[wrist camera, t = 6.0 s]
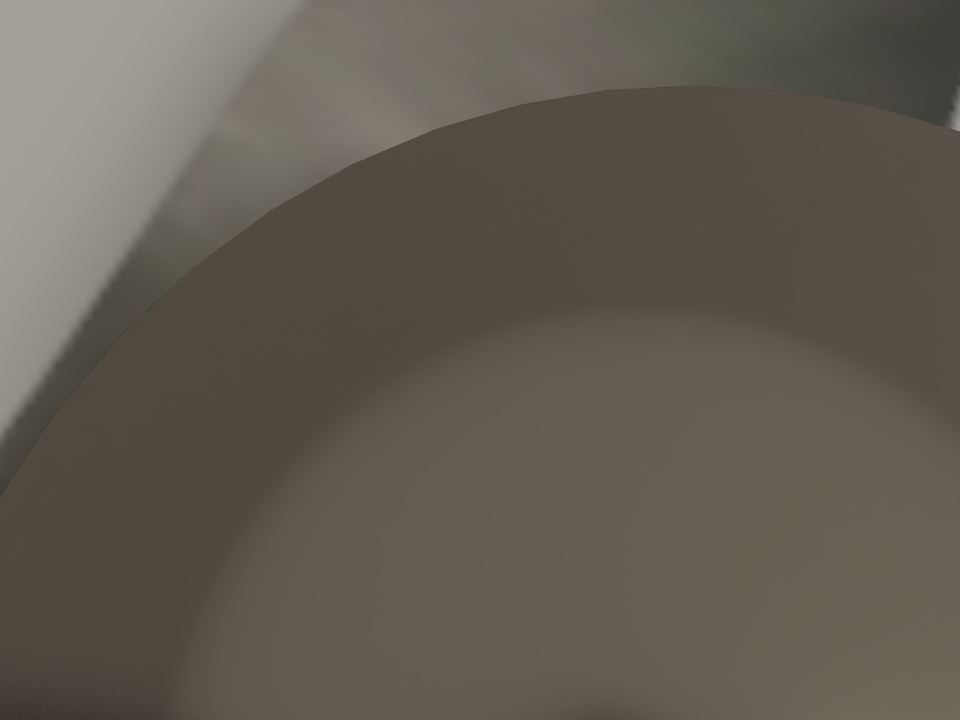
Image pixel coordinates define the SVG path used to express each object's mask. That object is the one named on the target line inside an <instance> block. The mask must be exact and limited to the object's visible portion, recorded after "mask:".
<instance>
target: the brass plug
mask: <svg viewBox="0 0 960 720" xmlns="http://www.w3.org/2000/svg"><path fill="white" fill-rule="evenodd" d="M0 720H960V131H956V130H953V129H949V128H946V127H942V126H939V125H935V124H932V123H928V122H925V121H921V120H918V119H914V118H911V117H907V116H904V115H900V114H897V113H893V112H890V111H886V110H883V109H879V108H876V107H872V106H867V105H861V104H855V103H849V102H843V101H838V100H832V99H826V98H820V97H815V96H809V95H803V94H797V93H791V92H786V91H773V90H757V89H741V88H725V87H708V86H679V87H659V88H640V89H620V90H605V91H599V92H593V93H587V94H581V95H575V96H569V97H563V98H557V99H551V100H545V101H539V102H533V103H527V104H521V105H518V106H514V107H511V108H507V109H504V110H500V111H497V112H493V113H490V114H486V115H483V116H480V117H476V118H473V119H469V120H466V121H462V122H459V123H455V124H452V125H449V126H445V127H442V128H438V129H435V130H432V131H430V132H428V133H425V134H423V135H421V136H418V137H416V138H413V139H411V140H409V141H406V142H404V143H402V144H399V145H397V146H395V147H392V148H390V149H387V150H385V151H383V152H380V153H378V154H376V155H373V156H371V157H369V158H366V159H364V160H361V161H359V162H357V163H354V164H352V165H350V166H348V167H347V168H345V169H343V170H341V171H340V172H338V173H336V174H334V175H333V176H331V177H329V178H327V179H326V180H324V181H322V182H320V183H318V184H317V185H315V186H313V187H311V188H310V189H308V190H306V191H304V192H303V193H301V194H299V195H297V196H296V197H294V198H292V199H290V200H289V201H287V202H285V203H283V204H282V205H280V206H278V207H276V208H275V209H273V210H271V211H270V212H268V213H267V214H266V215H264V216H263V217H262V218H260V219H259V220H257V221H256V222H255V223H253V224H252V225H251V226H249V227H248V228H247V229H245V230H244V231H243V232H241V233H240V234H239V235H237V236H236V237H235V238H233V239H232V240H230V241H229V242H228V243H226V244H225V245H224V246H222V247H221V248H220V249H218V250H217V251H216V252H214V253H213V254H212V255H210V256H209V257H207V258H206V259H205V260H203V261H202V262H201V263H199V264H198V265H197V266H195V267H194V268H193V269H192V270H191V271H189V272H188V273H187V274H186V275H185V276H184V277H183V278H182V279H181V280H180V281H179V282H178V283H177V284H176V285H175V286H174V287H172V288H171V289H170V290H169V291H168V292H167V293H166V294H165V295H164V296H163V297H162V298H161V299H160V300H159V301H158V302H157V303H155V304H154V305H153V306H152V307H151V308H150V309H149V310H148V311H147V312H146V313H145V314H144V315H143V316H142V317H141V318H140V319H139V320H137V321H136V322H135V323H134V324H133V325H132V326H131V327H130V328H129V329H128V330H127V331H126V332H125V333H124V334H123V335H122V336H120V337H119V339H118V340H117V341H116V342H115V343H114V345H113V346H112V347H111V348H110V349H109V351H108V352H107V353H106V354H105V355H104V356H103V358H102V359H101V360H100V361H99V362H98V364H97V365H96V366H95V367H94V368H93V370H92V371H91V372H90V373H89V374H88V376H87V377H86V378H85V379H84V380H83V382H82V383H81V384H80V385H79V386H78V387H77V389H76V390H75V391H74V392H73V393H72V395H71V396H70V397H69V398H68V399H67V401H66V402H65V403H64V404H63V405H62V407H61V408H60V409H59V410H58V411H57V412H56V414H55V415H54V416H53V417H52V419H51V420H50V422H49V423H48V425H47V426H46V428H45V429H44V431H43V432H42V434H41V435H40V437H39V438H38V440H37V441H36V443H35V444H34V446H33V447H32V449H31V450H30V452H29V453H28V455H27V456H26V458H25V460H24V461H23V463H22V464H21V466H20V467H19V469H18V470H17V472H16V473H15V475H14V476H13V478H12V479H11V481H10V482H9V484H8V485H7V487H6V488H5V490H4V491H3V493H2V494H1V496H0Z"/></svg>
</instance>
